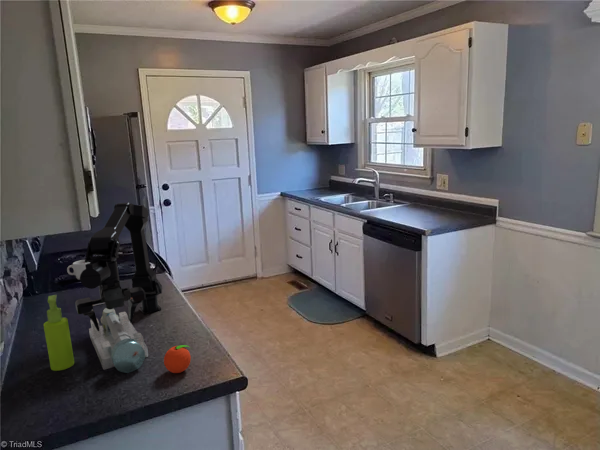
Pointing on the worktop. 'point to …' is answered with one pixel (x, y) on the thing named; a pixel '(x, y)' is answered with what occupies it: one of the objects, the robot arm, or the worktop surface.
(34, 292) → the worktop surface
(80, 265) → the cup
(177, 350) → the clementine
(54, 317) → the soap dispenser
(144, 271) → the robot arm
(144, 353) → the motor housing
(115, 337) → the electric toothbrush handle
